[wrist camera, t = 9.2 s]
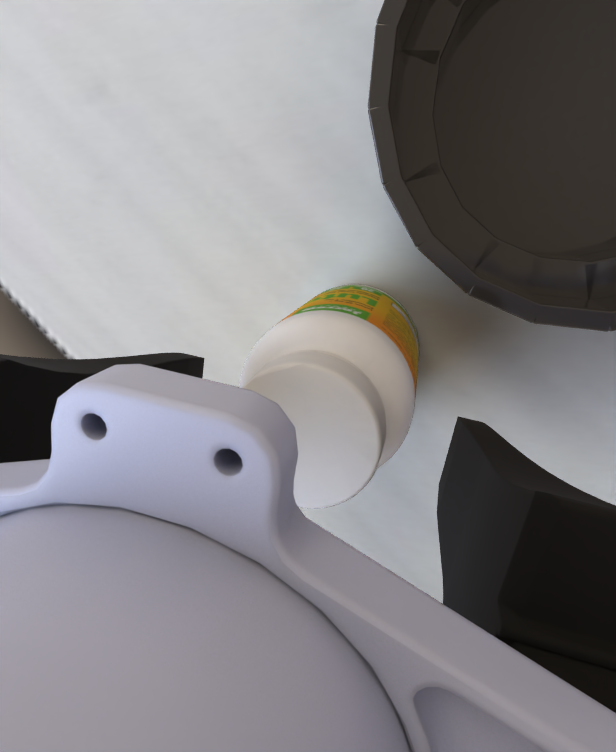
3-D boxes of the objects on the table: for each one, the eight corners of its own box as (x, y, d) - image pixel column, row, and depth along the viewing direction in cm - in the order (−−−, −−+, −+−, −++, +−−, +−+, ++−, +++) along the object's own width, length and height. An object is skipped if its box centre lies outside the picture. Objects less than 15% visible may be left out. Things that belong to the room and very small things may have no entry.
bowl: (919, 67, 15) (1136, 2, 11) (561, 370, 20) (601, 417, 15) (600, -245, 15) (679, -456, 10) (313, 143, 20) (277, 121, 15)
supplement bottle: (394, 262, 20) (366, 301, 11) (436, 384, 21) (442, 508, 12) (275, 308, 22) (167, 373, 13) (320, 419, 23) (250, 551, 14)
